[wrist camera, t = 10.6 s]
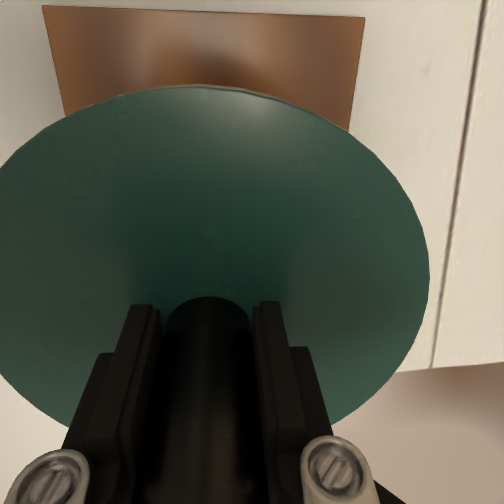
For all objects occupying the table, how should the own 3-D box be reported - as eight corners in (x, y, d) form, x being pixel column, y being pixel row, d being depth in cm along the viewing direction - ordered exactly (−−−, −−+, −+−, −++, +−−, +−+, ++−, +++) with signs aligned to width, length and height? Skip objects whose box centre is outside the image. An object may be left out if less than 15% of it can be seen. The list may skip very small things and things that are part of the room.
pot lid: (49, 439, 15) (-72, 719, 9) (-100, 74, 8) (-1076, 173, 2) (369, 423, 16) (462, 664, 10) (469, 87, 9) (972, 179, 3)
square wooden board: (104, 274, 29) (101, 281, 29) (48, 6, 20) (40, 5, 20) (323, 270, 31) (326, 276, 30) (360, 18, 22) (366, 17, 21)
